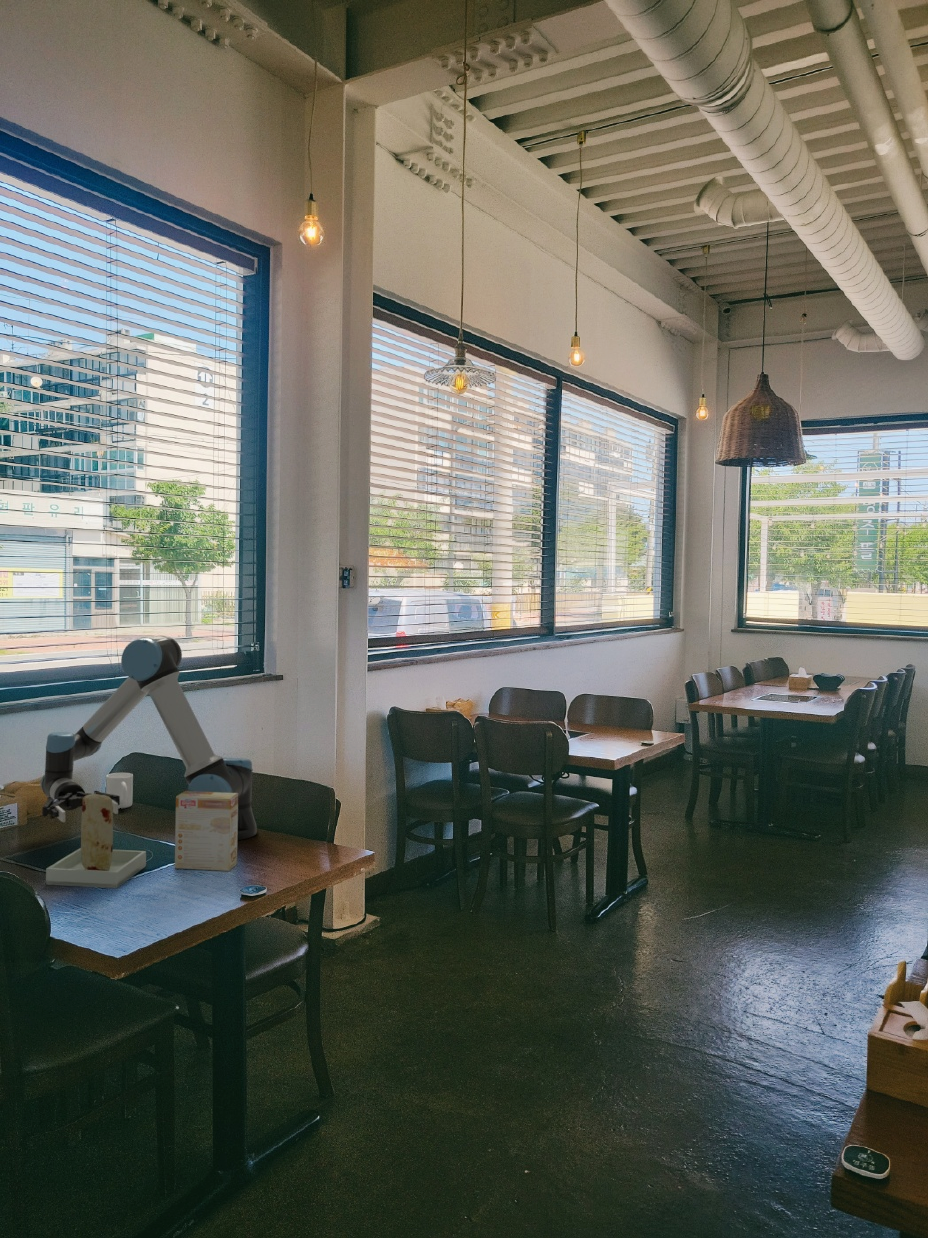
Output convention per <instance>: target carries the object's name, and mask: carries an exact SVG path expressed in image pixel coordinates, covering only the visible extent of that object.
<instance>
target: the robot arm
mask: <svg viewBox="0 0 928 1238" xmlns="http://www.w3.org/2000/svg"><path fill="white" fill-rule="evenodd" d="M182 656H183V651H182V649H181V646H180V644H179V643H178V642H177V641H176V640H175V639H174V638H172V637H170V636H168V635H154V636H145V637H140V638H137V639H134V640H132V641H130V642H129V643H128V644H127V645H126V646H125V648H124V650H123V651H122V654H121V661H120V662H121V668H122V670H123V673H125V675H126V676H127V678H126V679H125V680H124V681H123V682H122V684H120V686H119V687H118V688H116V690H115V691H114V692H113V693H112V694H111V695H110V696H109V697H108V699H107V700H106V701H105V702H104V703H102V704H101V706H100V707H99V708H98V709H97V710H96V711H95V713H93V715H92V716H91V717H90V718H89V719H88V720H87V721H86V722H85V723H84V724H83V725H82V727H80V728H79V730H78V731H77V732H76V733H72V732H71V731H52V732H50V733H49V734H48V735H47V738H46V739H47V740H46V745H45V764H44V765H45V766H44V768H45V770H44V774H43V776H42V777H41V779H40V788H41V790H42V792H43V794H44V795H45V796H46V797H47V799H46V802H45V803H44V804H43V806H42V807H41V809H42V810H41V812H42V813H41V815H42V817H47V816H48V815H49V819H51V820H53V819H56V818H57V819H58V820H59V821H60V822H61V823H66V811H74V810H77V809H78V808H82V800H83V797H84V796H87V795H91V794H92V793H88V792H86V791H85V790H84V788H83V787H82V786H81V785H80V784H78V783H77V782H76V781H74V780H73V776H74V762H76V761H77V760H81V759H85V758H89V757H91V756H93V755H94V754H95V753H98V752H99V750H100V749H101V747H102V744H103V742H104V741H105V740H106V738H108V736H109V735H110V734H111V733H112V732H113V731H114V730H115V729H116V728H117V727H118V726H119V725H121V723H122V722H123V720H125V718H127V716H128V715H130V714H131V712H133V710H134V709H135V708H136V707H137V706H138V705H139V704H140V702H142V700H143V699H145V697H146V696H147V695H149V696H150V699H151V701H152V703H153V704H154V706H155V708H156V711H157V712H158V714H159V716H160V719H161V720H162V722H163V724H164V726H165V728H166V731H167V732H168V734H169V736H170V738H171V740H172V742H173V745H174V746H175V748H176V750H177V752H178V754H179V756H180V759H181V760H182V762H183V765H184V766H185V769H186V770H185V773H184V775H183V776H184V779H185V781H186V783H187V784H188V788H187V791H196V792H221V793H238V832H237V841H240V840H246V839H250V838H252V837H254V836H256V835H257V831H258V830H257V829H258V827H257V823H256V820H255V817H254V813H253V810H252V794H253V793H252V790H253V789H252V787H253V786H252V785H253V772H254V771H253V763H252V761H251V760H250V759H248V758H243V757H222V756H221V755H217V754H215V752H214V751H213V749H212V746H211V745H210V743H209V741H208V738H207V737H206V735H205V732H204V731H203V728H202V727H201V724H200V723H199V721H198V719H197V716H196V715H195V712H194V711H193V709H192V707H191V705H190V702H189V701H188V698H187V697H186V694H185V693H184V691H183V689H182V687H181V685H180V682H179V681H178V678H179V675H180V671H179V669H178V668H179V666H180V664H181V662H182V658H183V657H182ZM93 794H100V795H106V796H109V797H110V798H111V799H112V804H113V814H115V815H118V814H119V809H118V805H120V796H117V795H112V794H107V793H106V792H101V791H99V790H94V791H93Z"/></svg>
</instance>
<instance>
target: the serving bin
mask: <svg viewBox="0 0 928 1238" xmlns="http://www.w3.org/2000/svg"><path fill="white" fill-rule="evenodd" d="M146 866H147V851H146V850H130V849H129V850H128V849H127V850H126V849H113V851H112V860H111V865H110V869H109V871H101V870H86V869H85V868H84V867H83V865H82V856H81V847H79V848H78V849H76V850H75V851H73V852H71V853H69V854H68V855H66V856H65V857H63V858H60V860H58V861H56V862H55V863H54V864H52V865H50V866H48V867H47V868H45V885H47V886H67V887H80V888H81V887H83V888H85V887H86V888H100V889H101V888H103V889H118V888H119V887H121V886H122V885H123V884H125V883H126V882H127V881H129V880H130V879H131V878H132V877H134V876H135V875H136V874H138V873H139V872H140V871H142V870H143V869H144V868H146Z"/></svg>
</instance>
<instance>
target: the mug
mask: <svg viewBox="0 0 928 1238" xmlns="http://www.w3.org/2000/svg"><path fill="white" fill-rule="evenodd" d="M105 781H106V783H105V785H106V787H105V793H107V794H112V795H117V796H120V805H118V810H119V809H120V808H121V809H126V808H130V807H131V806H132V805H133V796H134V795H133V786H134V783H133V781H134V775H133V773H130V772H114V773H109V774H106V778H105Z"/></svg>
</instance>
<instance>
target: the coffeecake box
mask: <svg viewBox="0 0 928 1238" xmlns="http://www.w3.org/2000/svg"><path fill="white" fill-rule="evenodd" d="M174 825H175V833H174V836H175V838H174V869H178V870H179V869H181V870H182V869H185V870H200V871H202V870H203V871H219V872H220V871H221V872H222V871H223V872H230V871H232V869H233V868H234V867H235V866H236V865H237V864H238V840H237V832H238V793H221V792H196V791H188V790H184V791H183V792H181V793H179V794H177V795H176V796H175V824H174Z"/></svg>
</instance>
